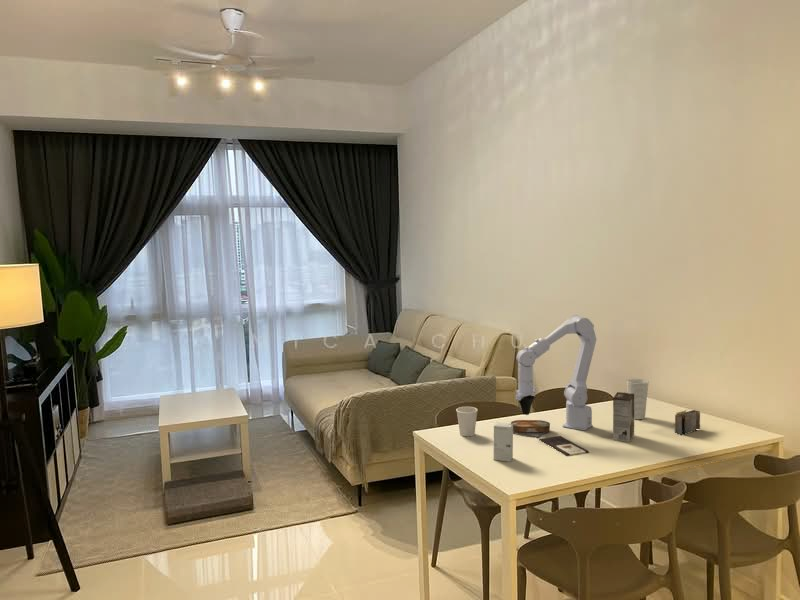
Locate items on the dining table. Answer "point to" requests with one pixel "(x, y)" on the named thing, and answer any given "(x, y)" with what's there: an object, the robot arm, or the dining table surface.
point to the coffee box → (623, 416)
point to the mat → (530, 434)
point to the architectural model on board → (687, 421)
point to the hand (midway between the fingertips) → (526, 414)
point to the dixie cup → (467, 420)
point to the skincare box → (503, 441)
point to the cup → (638, 396)
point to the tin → (530, 426)
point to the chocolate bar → (564, 445)
